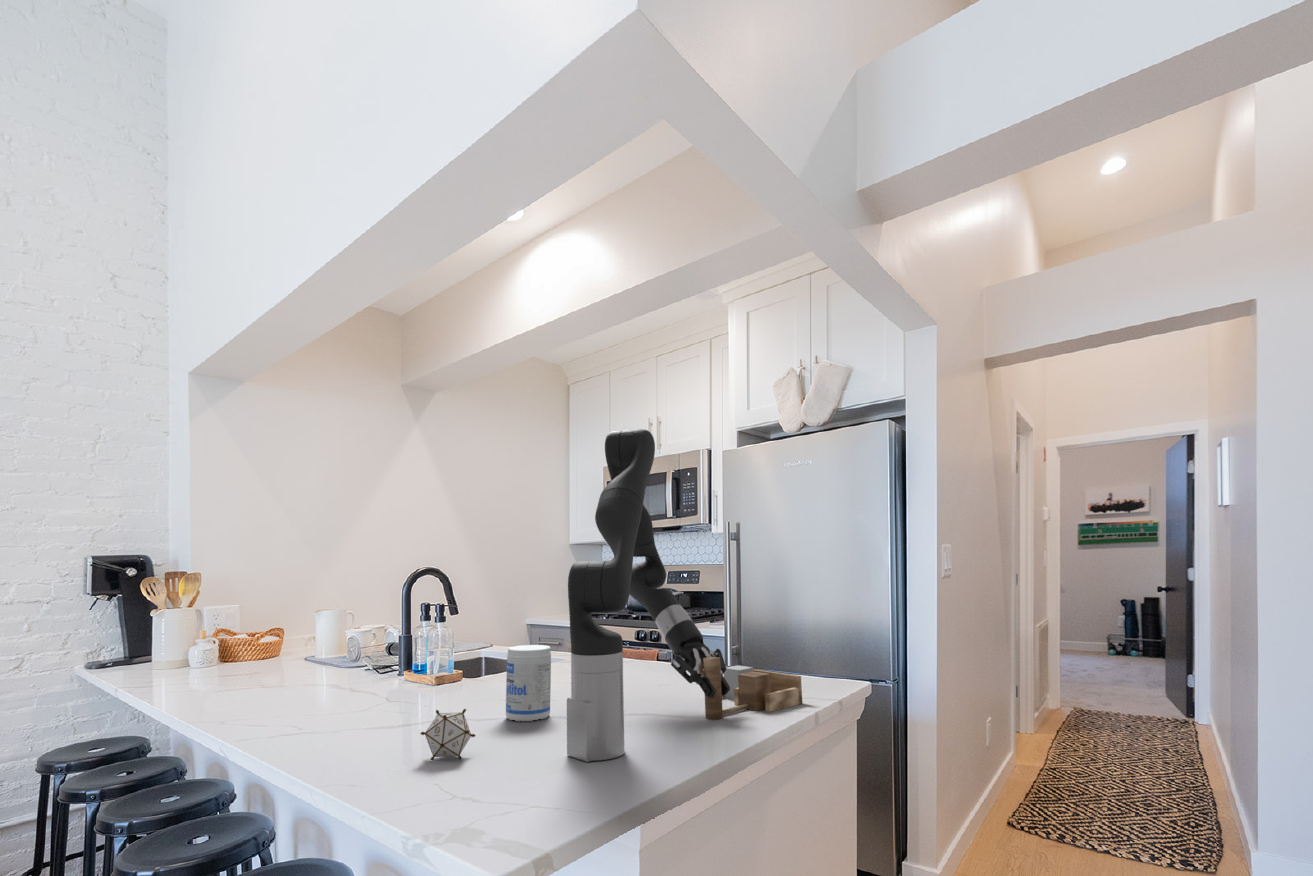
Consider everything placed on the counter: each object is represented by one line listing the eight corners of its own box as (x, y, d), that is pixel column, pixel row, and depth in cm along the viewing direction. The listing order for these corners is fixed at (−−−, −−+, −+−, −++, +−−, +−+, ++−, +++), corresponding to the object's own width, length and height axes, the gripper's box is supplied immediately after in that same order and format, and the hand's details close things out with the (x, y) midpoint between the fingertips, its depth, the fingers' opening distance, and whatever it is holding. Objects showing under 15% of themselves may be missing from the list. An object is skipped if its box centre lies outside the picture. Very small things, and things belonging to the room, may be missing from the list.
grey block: (740, 701, 163) (738, 670, 164) (724, 698, 166) (723, 668, 168) (754, 698, 166) (753, 667, 167) (739, 695, 170) (737, 665, 171)
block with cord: (716, 721, 145) (714, 660, 147) (699, 717, 148) (697, 658, 150) (771, 706, 156) (768, 650, 158) (754, 703, 160) (751, 648, 161)
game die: (456, 778, 124) (490, 725, 128) (445, 773, 117) (481, 717, 121) (416, 750, 126) (451, 699, 130) (402, 744, 119) (440, 690, 123)
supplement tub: (497, 721, 150) (497, 649, 152) (520, 711, 158) (520, 644, 161) (537, 724, 146) (537, 650, 149) (558, 713, 155) (558, 644, 157)
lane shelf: (769, 711, 152) (768, 682, 153) (706, 699, 166) (705, 672, 167) (802, 703, 159) (800, 675, 160) (738, 692, 173) (737, 666, 174)
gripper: (662, 621, 152) (704, 687, 141) (708, 616, 161) (751, 677, 150) (647, 645, 155) (687, 711, 144) (693, 638, 164) (734, 700, 153)
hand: (719, 693), depth 147 cm, fingers closed on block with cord, 3 cm apart
